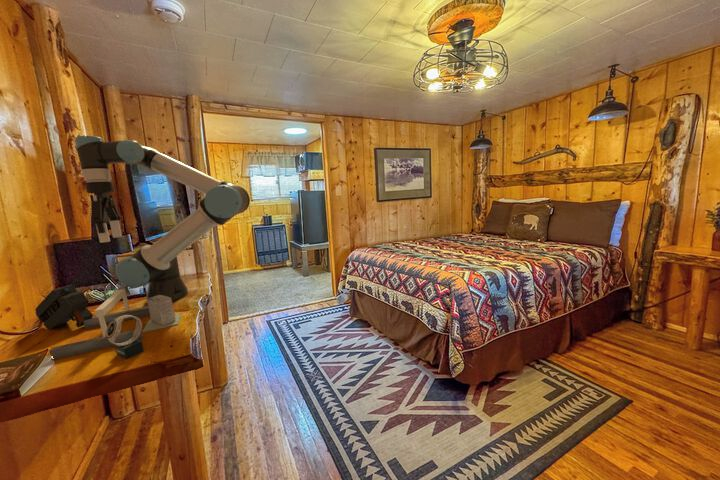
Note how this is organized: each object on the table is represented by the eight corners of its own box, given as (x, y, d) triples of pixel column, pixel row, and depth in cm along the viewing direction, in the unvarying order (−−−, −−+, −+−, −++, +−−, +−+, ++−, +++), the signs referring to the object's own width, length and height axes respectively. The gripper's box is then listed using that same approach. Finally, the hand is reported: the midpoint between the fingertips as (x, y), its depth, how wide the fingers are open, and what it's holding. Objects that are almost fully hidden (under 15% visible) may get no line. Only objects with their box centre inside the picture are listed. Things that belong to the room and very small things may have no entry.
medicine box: (176, 320, 103) (171, 297, 101) (162, 326, 99) (157, 301, 98) (164, 316, 107) (160, 294, 106) (151, 322, 103) (146, 298, 102)
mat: (181, 314, 110) (181, 313, 109) (177, 324, 101) (177, 323, 100) (149, 320, 106) (149, 319, 106) (142, 332, 97) (142, 331, 97)
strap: (132, 308, 110) (127, 285, 108) (110, 335, 89) (103, 308, 87) (124, 309, 109) (119, 287, 107) (100, 337, 88) (93, 310, 86)
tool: (82, 321, 100) (53, 285, 99) (53, 347, 105) (26, 313, 104) (100, 313, 106) (74, 279, 105) (72, 338, 111) (47, 306, 110)
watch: (108, 358, 82) (99, 321, 80) (140, 344, 89) (133, 309, 87) (118, 363, 79) (108, 325, 77) (150, 348, 86) (143, 312, 84)
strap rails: (157, 312, 113) (155, 304, 113) (141, 339, 92) (139, 330, 91) (87, 326, 105) (85, 318, 104) (51, 360, 83) (48, 350, 83)
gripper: (98, 183, 117) (110, 236, 121) (68, 180, 94) (84, 246, 98) (122, 182, 120) (133, 234, 124) (98, 179, 97) (112, 242, 101)
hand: (111, 239), depth 111 cm, fingers open, 13 cm apart
